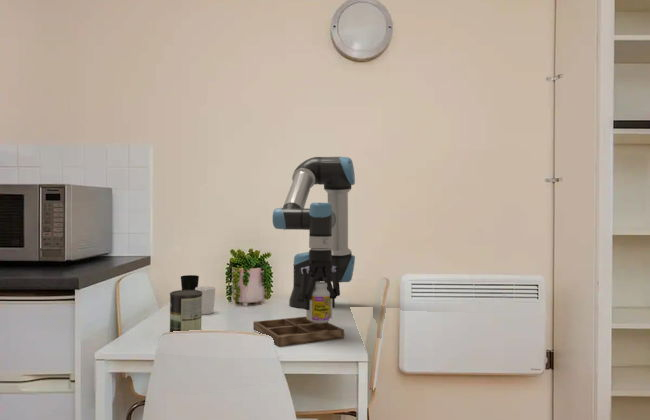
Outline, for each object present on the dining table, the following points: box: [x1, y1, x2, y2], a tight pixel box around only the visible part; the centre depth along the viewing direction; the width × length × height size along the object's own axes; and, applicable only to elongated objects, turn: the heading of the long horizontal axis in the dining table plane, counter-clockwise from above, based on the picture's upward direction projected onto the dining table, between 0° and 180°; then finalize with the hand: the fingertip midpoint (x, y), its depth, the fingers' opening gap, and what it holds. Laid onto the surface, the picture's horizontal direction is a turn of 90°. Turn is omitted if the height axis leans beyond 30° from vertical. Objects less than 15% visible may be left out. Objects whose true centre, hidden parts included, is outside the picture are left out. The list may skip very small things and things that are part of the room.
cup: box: [180, 274, 200, 290], centre depth 215 cm, size 8×8×12 cm
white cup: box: [195, 285, 216, 315], centre depth 197 cm, size 8×8×10 cm
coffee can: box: [169, 289, 203, 333], centre depth 162 cm, size 10×10×14 cm
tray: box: [252, 316, 345, 348], centre depth 165 cm, size 23×23×3 cm
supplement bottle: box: [310, 281, 330, 323], centre depth 163 cm, size 7×7×13 cm
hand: (319, 318), depth 163 cm, fingers closed on supplement bottle, 7 cm apart
